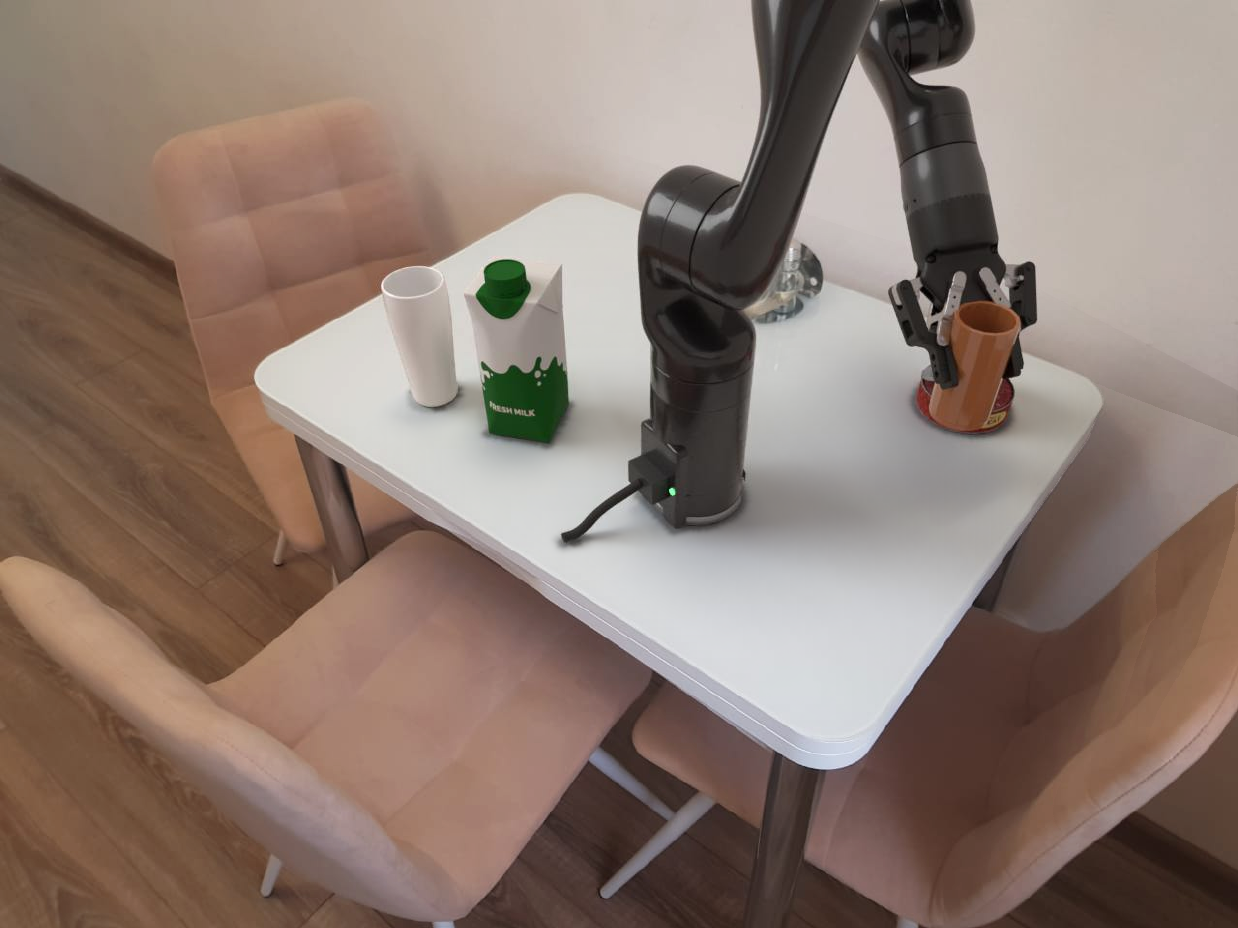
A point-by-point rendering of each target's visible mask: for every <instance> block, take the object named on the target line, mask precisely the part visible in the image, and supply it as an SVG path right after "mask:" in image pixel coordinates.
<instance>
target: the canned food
mask: <svg viewBox="0 0 1238 928" xmlns="http://www.w3.org/2000/svg"><path fill="white" fill-rule="evenodd" d="M934 385H935V381H934V378H933V373H932V368H931V364H929V365H927V366H926V367H925V368H924V369H922V370H921V375H920V381H919V385H918V389H917V392H916V396H915V403H916V406H917V409H918V411H919V412H920V413H921V415H922V416H923V417H924V418H925V419H927V420H928V421H929V422H930V423H931V424H934V425H936V426H937V427H940V428H942V429H944V430H947V431H950V432H953V433H957V434H965V435H981V434H986V433H990V432H993V431H995V430H997V429H999V428H1000V427H1002V426H1003V425H1004V424H1005V422H1006V420H1007V419H1008V415H1009V412H1010V409H1011V406H1012V404H1013V401H1014V399H1015V395H1016V394H1015V393H1016V390H1015V387H1014V384H1013V382H1012V380H1011V378H1009V379H1002V382H1001V385H1000V388H999V391H998V394H997V397H996V400H995V403H994V406H993V409H992V412H991V415H990V416H989V419H988V422H987V423H986V424H985V425H984V426H983V427H981V428H979V429H976V430H972V431H960V430H954V429H951V428H948V427H945V426H943V425H941V424H940V423H938V422H937V421H936V420H935V419H934V418H933V417H932V416H931V414H930V411H929V405H930V399H931V396H932V392H933V388H934Z"/></svg>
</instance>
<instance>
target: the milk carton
mask: <svg viewBox="0 0 1238 928" xmlns="http://www.w3.org/2000/svg"><path fill="white" fill-rule="evenodd" d="M463 297H464V300H465V303H466V306H467V309H468V310H467V311H468V313H469V316H470V321H471V325H472V332H473V338H474V343H475V344H474V345H475V351H476V358H477V364H478V370H479V371H478V372H479V376H480V382H481V383H480V384H481V390H482V396H483V397H482V398H483V403H484V408H485V414H486V419H487V426H488V433H489V434H493V435H499V436H505V437H508V438H509V437H510V438H516V439H522V440H527V441H534V442H540V443H546V444H549V443H550V442H551V440H552V438H553V436H554V434H555V432H556V430H557V428H558V426H559V424H560V422H561V420H562V418H563V416H564V415H565V412H566V410H567V409H568V407H569V406H570V401H569V380H568V379H569V378H568V361H567V348H566V336H565V335H566V334H565V322H564V321H565V320H564V310H563V308H564V304H563V263H560V262H554V261H553V262H552V261H544V260H537V259H530V258H529V259H527V258H520V257H513V256H506V255H505V256H504V255H496V254H493V255H492V256H491V257H490V258H489V260H488V261H487V262H486V263H485V265H483V266H482V267H481V268H480V269H479V270H478V273H477V274H476V276H475V277H474V278H473V280H472V281H471V282H470V284H469V285H468V286H467V288H466V289H465V291H464V292H463Z"/></svg>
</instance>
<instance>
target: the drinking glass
mask: <svg viewBox="0 0 1238 928" xmlns="http://www.w3.org/2000/svg"><path fill="white" fill-rule="evenodd" d="M380 288H381V289H380V290H381V293H382V299H383V301H382V302H383V306H384V309H385V314H386V319H387V321H388V325H389V328H390V331H391V334H392V337H393V341H394V343H395V346H396V348H397V351H398V354H399V357H400V361H401V363H402V364H401V365H402V366H403V367H402V368H403V370H404V373H405V375H406V379H407V382H408V385H409V386H408V387H409V391H410V394H411V397H412V399H413V401H414V402H416V404H418V405H420V406H422V407H428V408H434V407H441V406H444V405H447V404H448V403H450V402H452V401H453V400H454V399H455V398H456V396H457V394H458V391H459V385H458V379H457V370H456V360H455V359H456V358H455V347H454V346H455V345H454V332H453V331H454V330H453V319H452V309H451V302H450V295H449V291H448V287H447V283H446V278H445V275H444V274H443V273H442V272H441V271H440V270H439V269H437V268H434V267H431V266H425V265H413V266H412V265H411V266H407V267H402V268H399V269H396V270H394V271H392V272H390V273H389V274H387V275H386V276H385V277H384V278H383V280H382V282H381V284H380Z"/></svg>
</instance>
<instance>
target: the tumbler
mask: <svg viewBox="0 0 1238 928" xmlns="http://www.w3.org/2000/svg"><path fill="white" fill-rule="evenodd" d="M969 307H971V308H969ZM967 308H969V309H967ZM966 309H967V310H966ZM1020 326H1021V322H1020V317H1019V316H1018V315H1017V314H1016V313H1015V312H1014V311H1013V310H1011V309H1010V308H1008V307H1006V306H1004V305H1001V304H996V303H994V302H991V301H975V302H969V303H964V304H961V305H960V306H959V310H955V312H954V318H953V322H952V327H951V336H950V341H949V343H948V346H952V350H953V354H954V358H955V364H956V369H957V374H958V379H959V385H958V386H957V387H953V388H949V389H944V390H943V389H941V387H940V384H936V382H935V385H934V388H933V392H932V396H931V399H930V405H929V411H930V414H931V416H932V417H933V418H934V419H935V420H936V421H937V422H938V423H940V424H941V425H943V426H945V427H948V428H951V429H954V430H960V431H972V430H976V429H979V428H981V427H983V426H984V425H985V424H986V423H987V422H988V419H989V416H990V415H991V412H992V409H993V406H994V403H995V400H996V397H997V394H998V391H999V388H1000V385H1001V382H1002V379H1003V376H1004V373H1005V370H1006V367H1007V364H1008V361H1009V358H1010V355H1011V353H1012V350H1013V347H1014V344H1015V341H1016V338H1017V335H1018V332H1019V329H1020Z"/></svg>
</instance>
